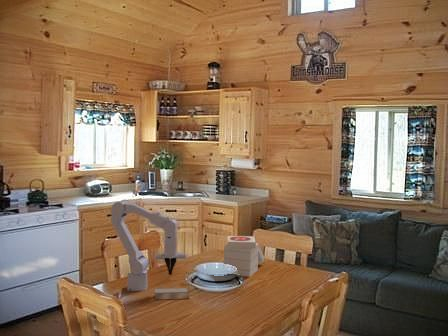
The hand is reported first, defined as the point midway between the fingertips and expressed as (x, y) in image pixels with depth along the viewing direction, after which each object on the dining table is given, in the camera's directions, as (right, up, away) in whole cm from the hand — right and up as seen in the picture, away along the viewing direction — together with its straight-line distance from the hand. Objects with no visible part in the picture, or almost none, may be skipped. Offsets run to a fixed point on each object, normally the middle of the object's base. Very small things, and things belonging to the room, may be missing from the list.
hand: (170, 274), depth 221 cm
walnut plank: (+2, -10, -7) cm, 12 cm away
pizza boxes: (+36, -7, +45) cm, 58 cm away
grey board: (0, -9, +1) cm, 9 cm away
